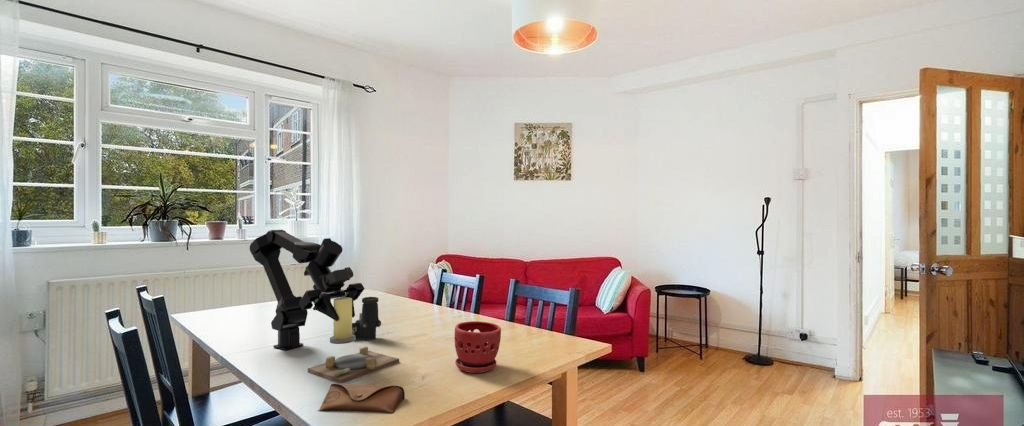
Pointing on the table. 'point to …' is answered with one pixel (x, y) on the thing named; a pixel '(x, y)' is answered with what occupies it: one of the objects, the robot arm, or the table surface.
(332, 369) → the board
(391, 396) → the sunglasses case
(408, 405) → the table surface
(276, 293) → the robot arm
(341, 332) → the yellow pillar candle
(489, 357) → the plant pot
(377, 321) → the scope
